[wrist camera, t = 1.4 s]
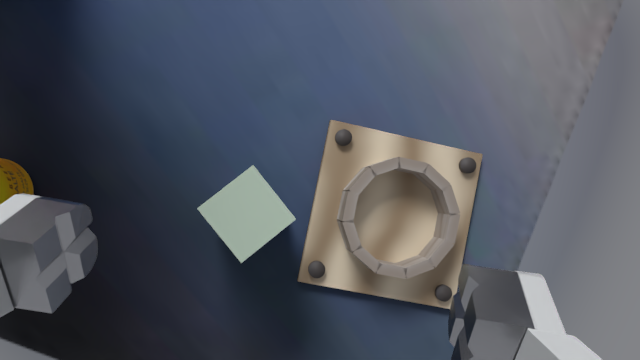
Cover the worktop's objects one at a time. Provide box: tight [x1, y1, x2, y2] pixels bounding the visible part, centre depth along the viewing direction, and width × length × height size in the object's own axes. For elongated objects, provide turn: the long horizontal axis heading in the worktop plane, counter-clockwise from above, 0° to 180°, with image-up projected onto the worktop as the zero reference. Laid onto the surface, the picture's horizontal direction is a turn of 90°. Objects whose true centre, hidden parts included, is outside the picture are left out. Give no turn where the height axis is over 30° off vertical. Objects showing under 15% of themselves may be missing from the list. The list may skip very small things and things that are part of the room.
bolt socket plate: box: [297, 120, 483, 309], centre depth 46 cm, size 16×16×4 cm
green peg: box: [197, 165, 296, 263], centre depth 40 cm, size 5×5×12 cm
